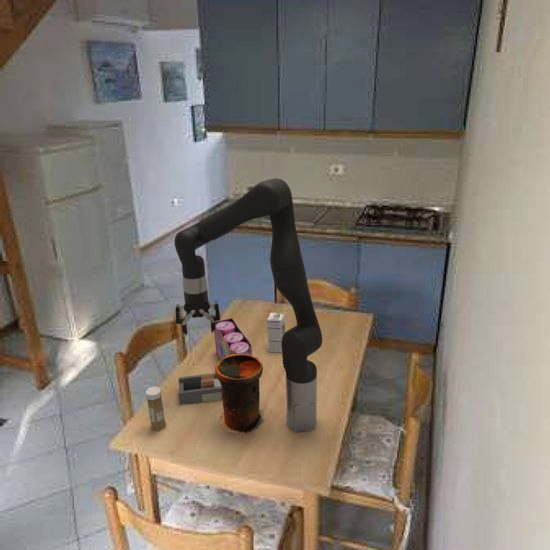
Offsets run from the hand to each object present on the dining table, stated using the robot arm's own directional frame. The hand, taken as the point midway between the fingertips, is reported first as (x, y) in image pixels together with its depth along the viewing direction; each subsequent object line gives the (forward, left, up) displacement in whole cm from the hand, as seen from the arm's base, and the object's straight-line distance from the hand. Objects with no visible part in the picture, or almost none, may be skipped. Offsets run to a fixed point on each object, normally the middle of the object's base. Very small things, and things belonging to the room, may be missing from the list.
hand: (199, 332), depth 163 cm
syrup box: (+19, -29, -22) cm, 41 cm away
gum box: (+11, -11, -22) cm, 27 cm away
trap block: (-4, -1, -19) cm, 19 cm away
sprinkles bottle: (-18, +15, -22) cm, 32 cm away
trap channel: (-4, -3, -22) cm, 22 cm away
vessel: (-20, -11, -22) cm, 31 cm away
